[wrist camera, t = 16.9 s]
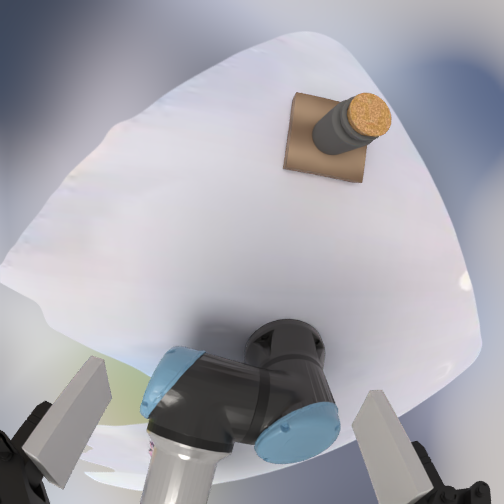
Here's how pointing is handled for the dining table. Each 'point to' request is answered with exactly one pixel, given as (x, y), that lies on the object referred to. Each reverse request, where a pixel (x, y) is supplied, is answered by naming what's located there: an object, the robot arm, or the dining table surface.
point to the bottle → (352, 124)
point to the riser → (305, 151)
